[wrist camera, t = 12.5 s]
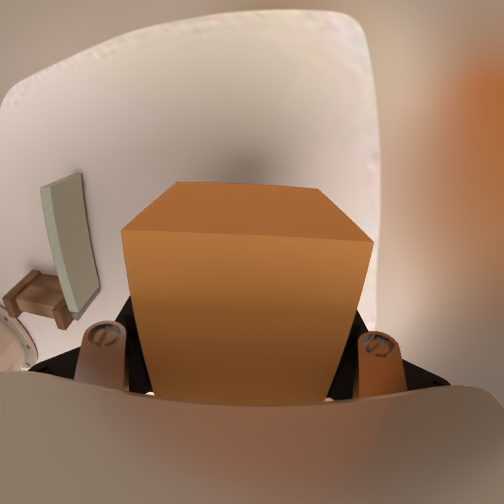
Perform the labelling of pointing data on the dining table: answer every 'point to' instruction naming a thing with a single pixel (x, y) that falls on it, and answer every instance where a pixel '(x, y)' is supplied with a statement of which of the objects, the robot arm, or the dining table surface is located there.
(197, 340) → the orange rectangular block
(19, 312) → the wall frame
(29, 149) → the dining table surface
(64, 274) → the door
